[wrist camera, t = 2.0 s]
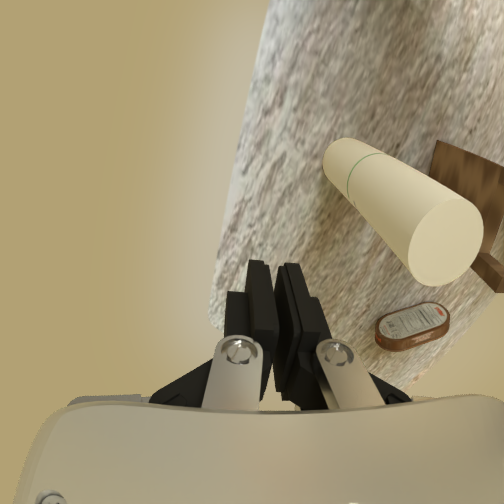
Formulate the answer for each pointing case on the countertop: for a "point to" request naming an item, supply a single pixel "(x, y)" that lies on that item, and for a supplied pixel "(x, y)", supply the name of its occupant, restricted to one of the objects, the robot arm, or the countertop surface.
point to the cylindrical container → (407, 210)
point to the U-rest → (475, 200)
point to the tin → (412, 326)
